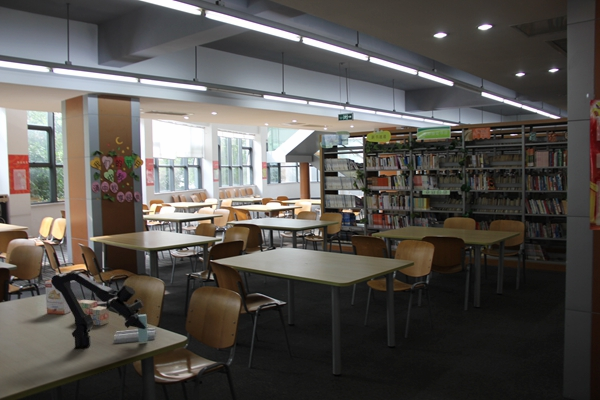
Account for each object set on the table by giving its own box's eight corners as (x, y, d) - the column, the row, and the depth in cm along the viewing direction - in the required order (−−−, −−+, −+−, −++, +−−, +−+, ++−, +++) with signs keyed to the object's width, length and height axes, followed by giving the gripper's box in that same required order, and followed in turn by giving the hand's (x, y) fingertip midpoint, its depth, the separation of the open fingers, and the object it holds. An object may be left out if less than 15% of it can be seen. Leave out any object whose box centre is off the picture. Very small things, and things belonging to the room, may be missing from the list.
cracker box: (46, 313, 315) (44, 281, 314) (53, 311, 321) (51, 279, 320) (64, 314, 311) (62, 282, 310) (71, 312, 317) (69, 279, 316)
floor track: (113, 343, 250) (113, 337, 250) (117, 336, 262) (116, 330, 262) (154, 339, 254) (153, 332, 254) (156, 332, 266) (155, 326, 266)
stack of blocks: (109, 323, 289) (108, 302, 288) (100, 326, 283) (99, 304, 283) (85, 319, 299) (83, 299, 298) (76, 322, 293) (74, 301, 293)
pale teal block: (138, 342, 247) (137, 316, 247) (139, 340, 250) (138, 314, 250) (148, 341, 248) (147, 315, 248) (149, 339, 251) (148, 314, 251)
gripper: (130, 300, 238) (155, 320, 241) (135, 291, 256) (157, 310, 259) (114, 317, 237) (139, 337, 240) (119, 307, 255) (143, 326, 258)
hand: (145, 327), depth 249 cm, fingers closed on pale teal block, 3 cm apart
